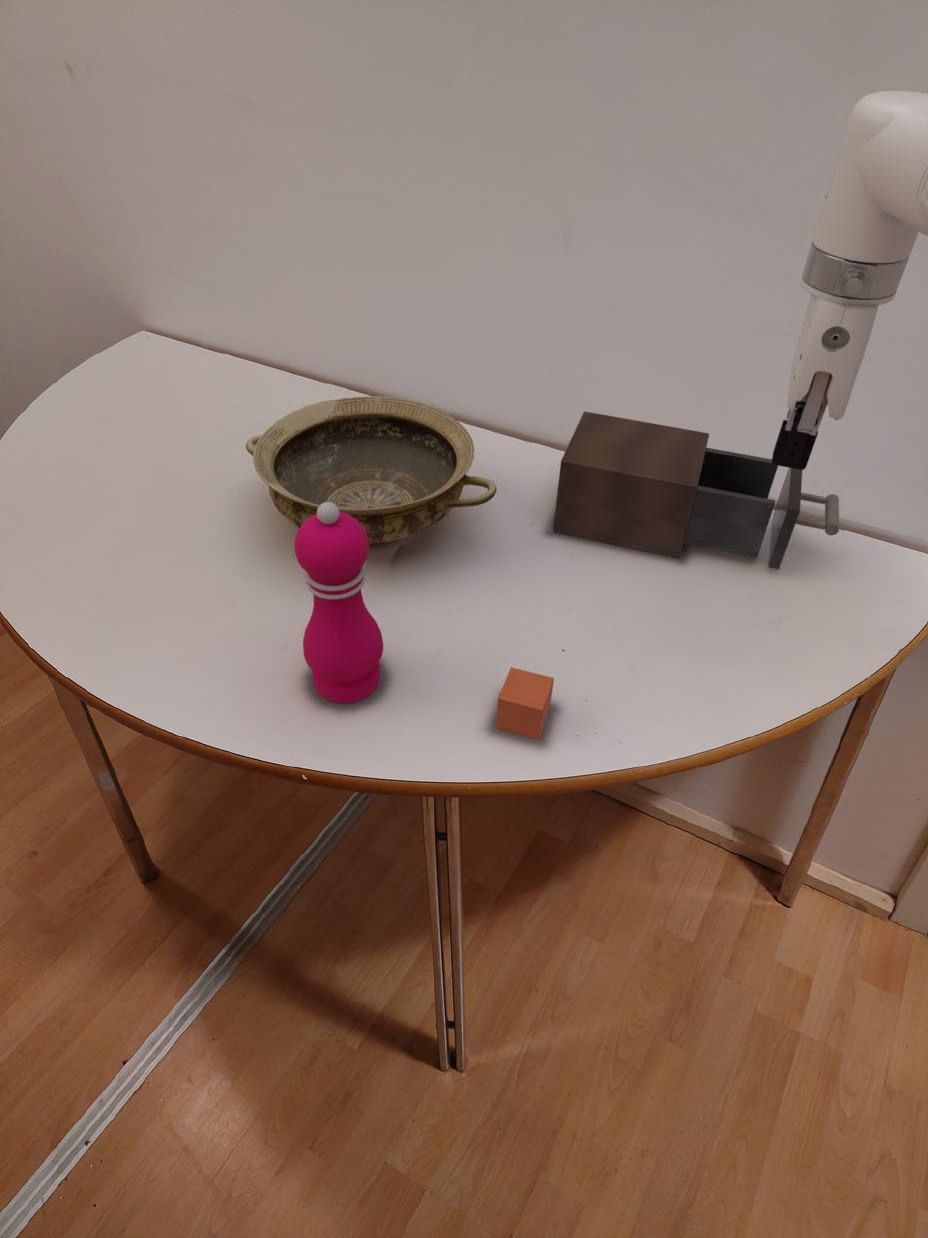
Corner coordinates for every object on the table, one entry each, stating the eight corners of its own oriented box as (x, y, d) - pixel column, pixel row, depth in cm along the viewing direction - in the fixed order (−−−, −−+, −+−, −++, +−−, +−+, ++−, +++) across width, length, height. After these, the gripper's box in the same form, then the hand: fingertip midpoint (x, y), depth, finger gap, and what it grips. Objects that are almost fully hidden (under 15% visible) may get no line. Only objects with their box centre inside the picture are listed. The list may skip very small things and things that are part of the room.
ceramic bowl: (523, 495, 100) (529, 422, 94) (451, 617, 84) (452, 539, 77) (306, 445, 108) (297, 374, 101) (201, 548, 91) (182, 472, 85)
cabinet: (692, 503, 100) (709, 433, 93) (679, 559, 92) (697, 486, 85) (575, 480, 103) (584, 410, 97) (552, 532, 95) (560, 460, 88)
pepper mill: (348, 720, 74) (328, 544, 60) (292, 683, 77) (260, 508, 63) (401, 674, 78) (392, 499, 64) (345, 641, 81) (326, 468, 67)
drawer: (824, 525, 95) (847, 467, 90) (823, 579, 88) (848, 520, 83) (668, 494, 100) (681, 437, 94) (655, 544, 92) (668, 485, 87)
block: (550, 707, 75) (554, 677, 73) (539, 739, 72) (542, 710, 70) (508, 696, 76) (510, 666, 73) (495, 728, 73) (497, 698, 71)
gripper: (904, 312, 61) (825, 513, 74) (898, 248, 72) (830, 433, 84) (800, 296, 63) (740, 495, 76) (809, 236, 73) (755, 420, 86)
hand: (788, 462), depth 80 cm, fingers closed
